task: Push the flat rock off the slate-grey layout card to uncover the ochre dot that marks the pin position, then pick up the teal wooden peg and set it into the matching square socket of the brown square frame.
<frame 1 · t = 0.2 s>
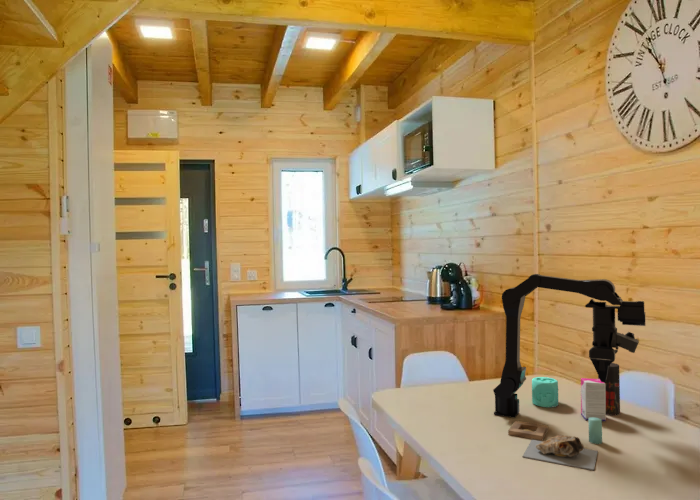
hand: (604, 378, 141), 14 cm above the table, tool pointing down, fingers open, 9 cm apart
deodorant: (609, 412, 155), on the table
supplement box: (593, 418, 150), on the table
peg: (595, 441, 132), on the table
brown square frame: (528, 432, 139), on the table
decorative dice: (545, 404, 164), on the table
rock: (560, 454, 124), resting on layout card
layout card: (560, 454, 124), on the table
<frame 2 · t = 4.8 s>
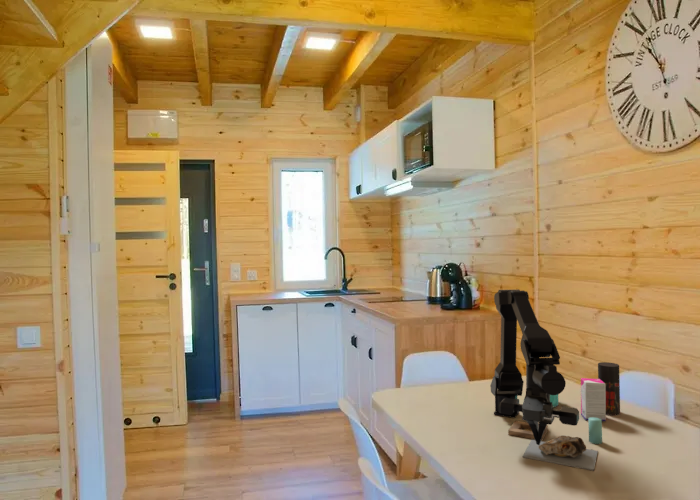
hand: (538, 444, 127), 2 cm above the table, tool pointing down, fingers closed
rock: (563, 454, 124), resting on layout card, touching gripper
everything else where it was.
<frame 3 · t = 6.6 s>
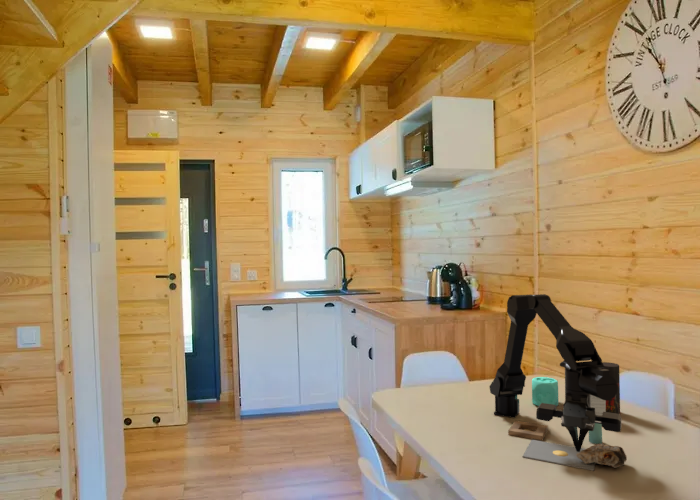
hand: (578, 451, 122), 2 cm above the table, tool pointing down, fingers closed
rock: (602, 464, 118), on the table, touching gripper, layout card
everything else where it was.
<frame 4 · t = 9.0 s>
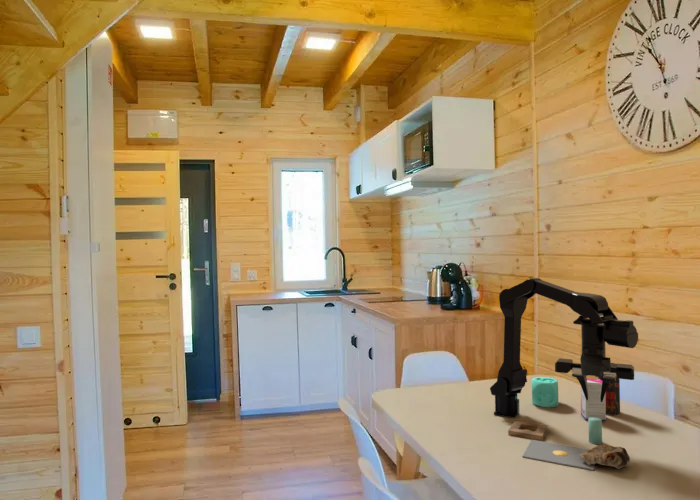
hand: (594, 400, 132), 11 cm above the table, tool pointing down, fingers open, 3 cm apart
rock: (605, 465, 118), on the table, touching layout card
everything else where it was.
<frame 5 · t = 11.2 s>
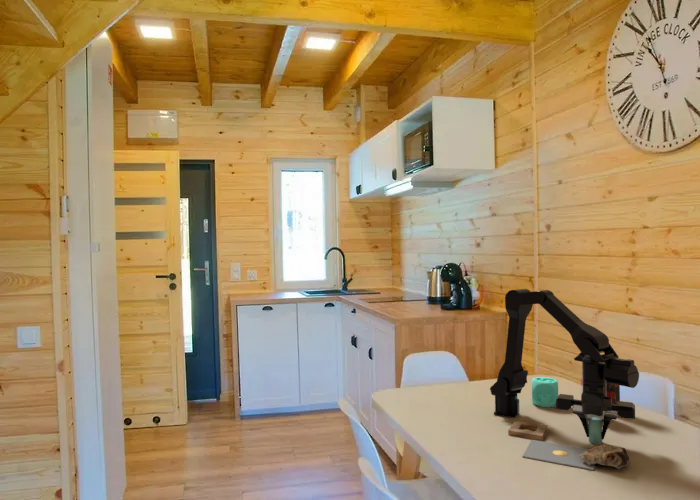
hand: (595, 437, 132), 1 cm above the table, tool pointing down, fingers closed on peg, 3 cm apart
peg: (595, 441, 132), on the table, touching gripper
everything else where it was.
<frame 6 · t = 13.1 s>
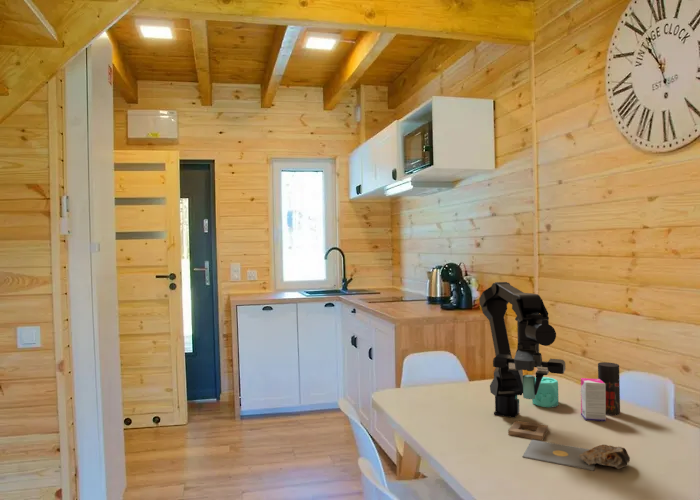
hand: (529, 393, 139), 11 cm above the table, tool pointing down, fingers closed on peg, 3 cm apart
peg: (529, 397, 139), point 10 cm above the table, touching gripper
everything else where it was.
when the fingers open (2 cm above the table, at t = 15.0 s): peg drops 1 cm, resting on brown square frame.
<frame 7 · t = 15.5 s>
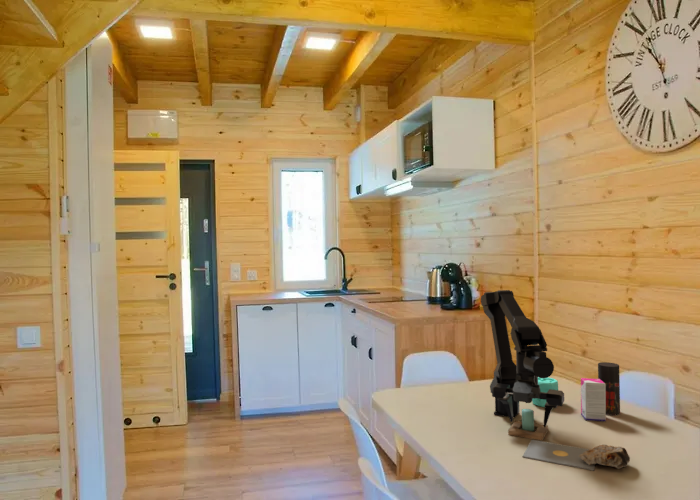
hand: (528, 424, 139), 2 cm above the table, tool pointing down, fingers open, 9 cm apart
peg: (528, 431, 139), resting on brown square frame
everything else where it was.
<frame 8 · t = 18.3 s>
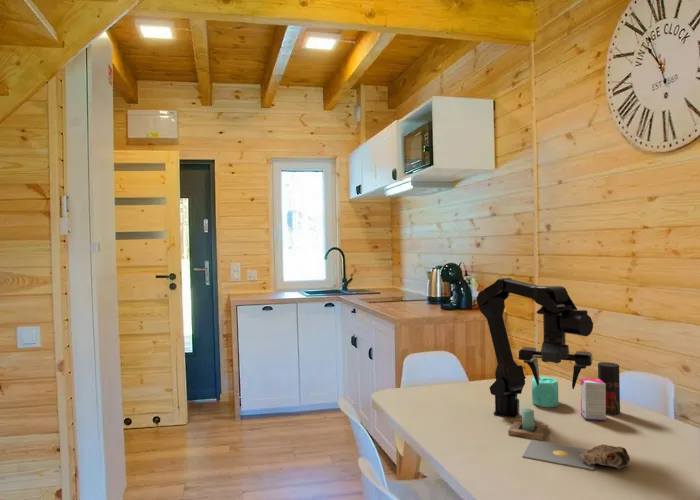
hand: (555, 386, 138), 13 cm above the table, tool pointing down, fingers open, 9 cm apart
nothing on the table moved.
at the end: rock moved 10.3 cm from its start; peg 0.1 cm off-centre on the brown square frame, point 0.1 cm above the brown square frame's base; peg tilted 0° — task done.
